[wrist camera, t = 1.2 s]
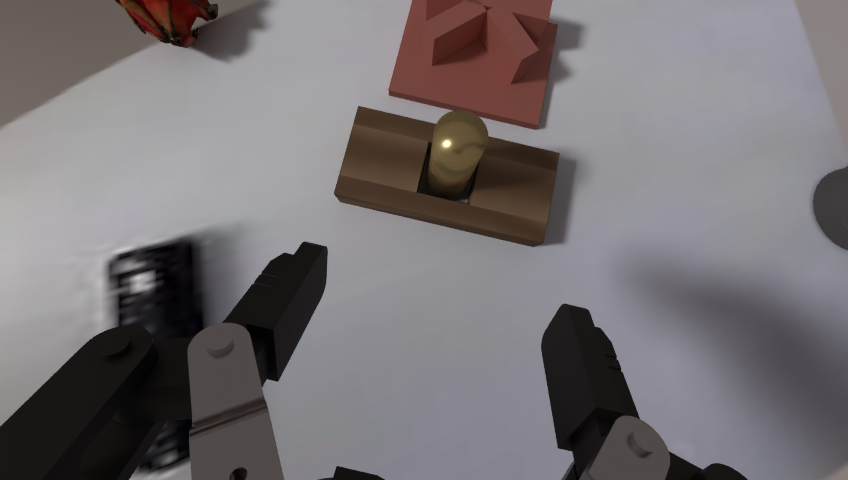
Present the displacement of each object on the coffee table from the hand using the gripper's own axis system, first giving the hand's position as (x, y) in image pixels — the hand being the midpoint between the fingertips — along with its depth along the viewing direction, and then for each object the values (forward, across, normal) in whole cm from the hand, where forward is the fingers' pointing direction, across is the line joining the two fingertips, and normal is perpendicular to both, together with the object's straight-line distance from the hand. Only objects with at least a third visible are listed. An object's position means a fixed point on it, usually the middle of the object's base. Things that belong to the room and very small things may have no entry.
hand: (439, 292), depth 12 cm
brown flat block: (+25, 0, +8) cm, 26 cm away
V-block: (+34, 0, -1) cm, 34 cm away
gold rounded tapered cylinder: (+25, 0, +8) cm, 26 cm away
